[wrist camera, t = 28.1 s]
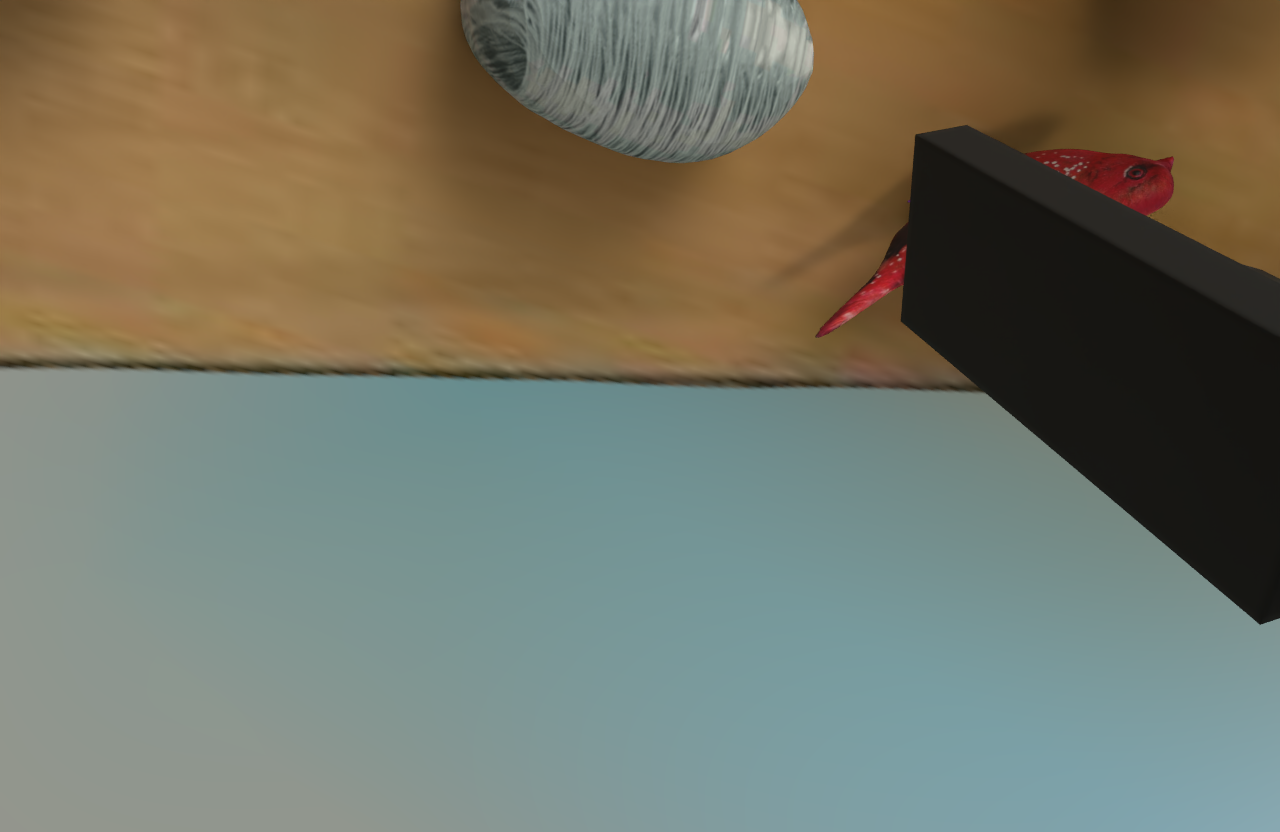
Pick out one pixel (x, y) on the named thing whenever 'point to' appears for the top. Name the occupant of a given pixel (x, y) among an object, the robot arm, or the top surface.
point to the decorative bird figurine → (1106, 173)
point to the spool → (648, 68)
